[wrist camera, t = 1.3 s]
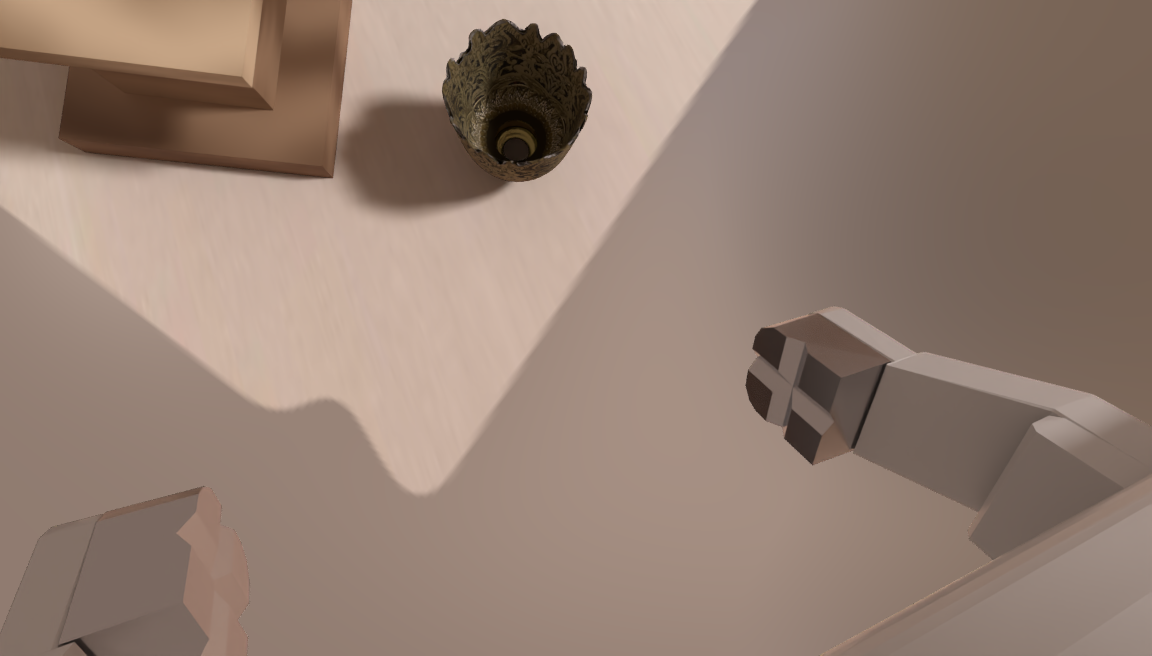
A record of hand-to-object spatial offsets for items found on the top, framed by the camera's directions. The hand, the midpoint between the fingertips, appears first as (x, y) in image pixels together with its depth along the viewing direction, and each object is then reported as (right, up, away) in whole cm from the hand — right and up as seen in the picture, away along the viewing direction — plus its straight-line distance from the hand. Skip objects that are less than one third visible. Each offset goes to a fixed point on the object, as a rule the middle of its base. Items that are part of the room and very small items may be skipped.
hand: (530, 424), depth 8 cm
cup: (-3, +13, +28) cm, 31 cm away
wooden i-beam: (-21, +18, +26) cm, 38 cm away
